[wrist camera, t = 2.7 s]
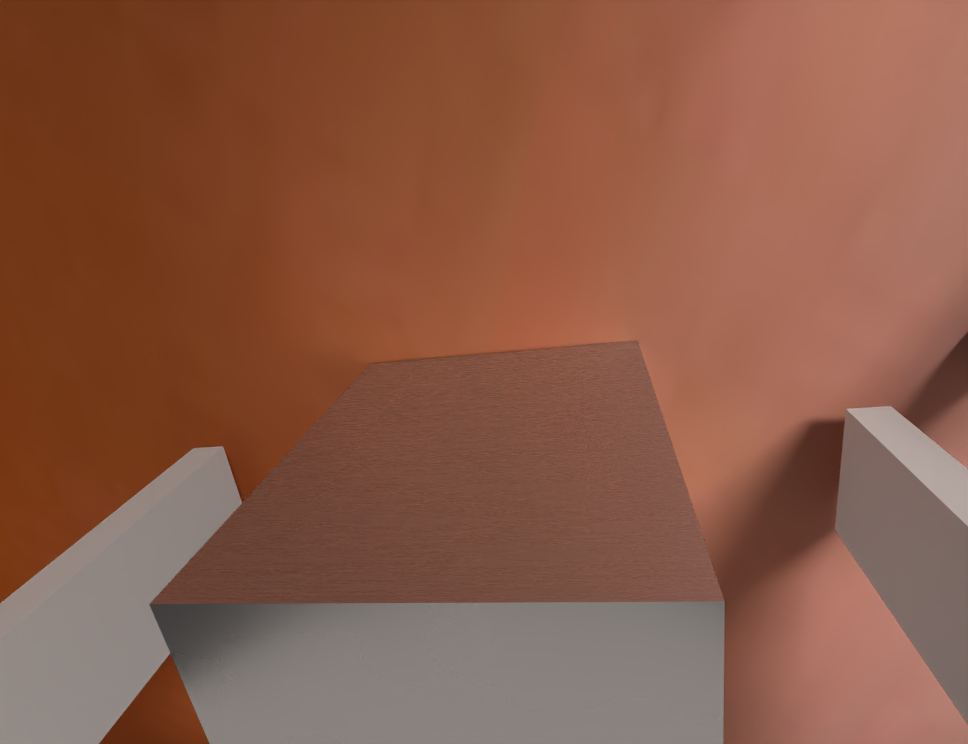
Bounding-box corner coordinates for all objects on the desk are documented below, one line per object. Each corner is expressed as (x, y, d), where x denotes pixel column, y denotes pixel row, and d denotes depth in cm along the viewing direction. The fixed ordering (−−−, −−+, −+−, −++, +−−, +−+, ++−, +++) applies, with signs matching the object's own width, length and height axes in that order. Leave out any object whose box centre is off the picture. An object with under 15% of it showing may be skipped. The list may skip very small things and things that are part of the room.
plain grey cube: (369, 364, 12) (149, 603, 6) (637, 341, 11) (723, 600, 5) (416, 573, 14) (288, 925, 8) (648, 570, 13) (720, 971, 7)
